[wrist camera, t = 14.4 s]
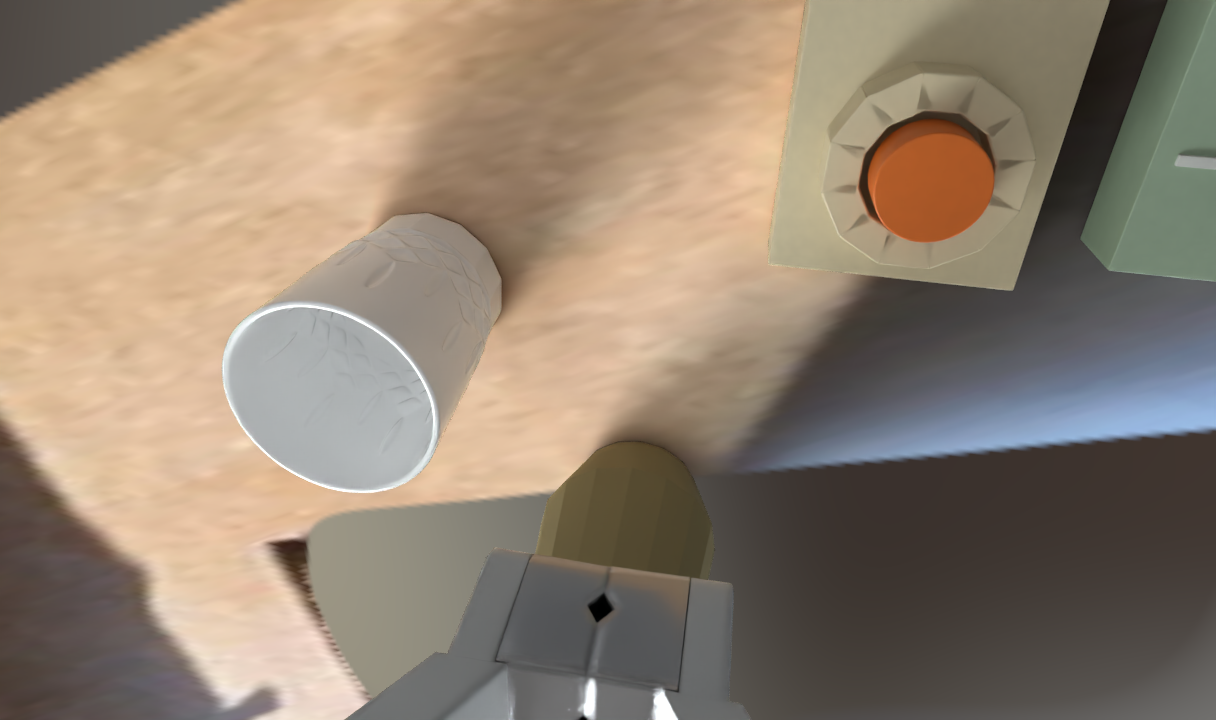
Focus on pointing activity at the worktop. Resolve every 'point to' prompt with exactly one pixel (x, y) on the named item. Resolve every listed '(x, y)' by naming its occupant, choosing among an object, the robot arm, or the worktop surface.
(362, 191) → the worktop surface
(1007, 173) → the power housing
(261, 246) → the worktop surface
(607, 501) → the squeeze bottle
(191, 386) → the worktop surface
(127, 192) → the worktop surface
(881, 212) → the power button
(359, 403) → the white cup
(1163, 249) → the dial panel
